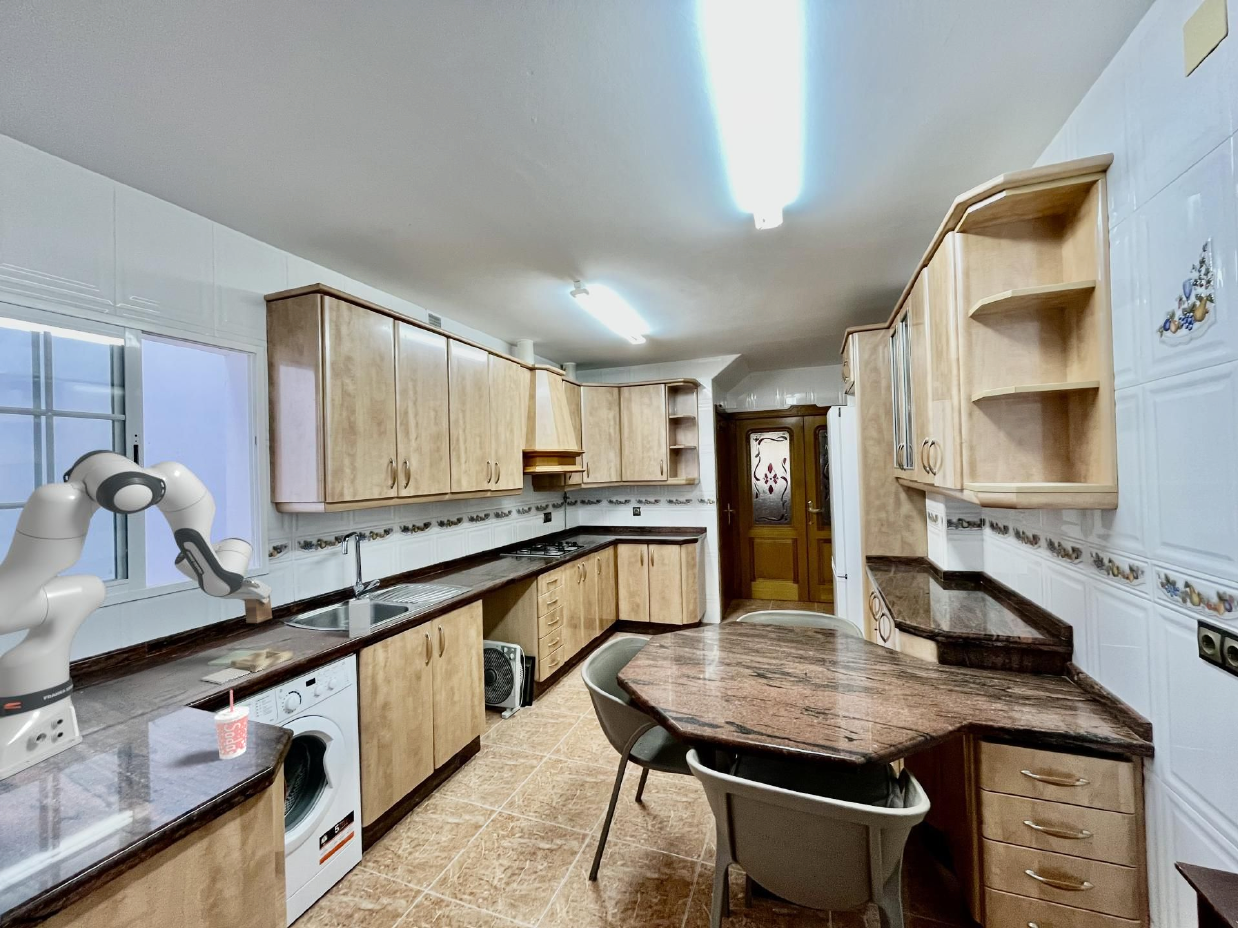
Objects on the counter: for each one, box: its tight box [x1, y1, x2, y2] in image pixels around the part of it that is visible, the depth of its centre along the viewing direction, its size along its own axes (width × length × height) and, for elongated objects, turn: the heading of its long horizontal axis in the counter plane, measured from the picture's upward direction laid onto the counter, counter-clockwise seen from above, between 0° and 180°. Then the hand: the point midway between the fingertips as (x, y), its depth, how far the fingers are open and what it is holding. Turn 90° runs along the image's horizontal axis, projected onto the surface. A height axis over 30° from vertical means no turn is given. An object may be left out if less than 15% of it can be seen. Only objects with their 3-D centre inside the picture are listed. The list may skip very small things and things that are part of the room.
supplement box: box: [348, 598, 371, 639], centre depth 189 cm, size 7×7×13 cm
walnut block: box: [243, 594, 273, 624], centre depth 164 cm, size 5×5×11 cm
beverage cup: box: [213, 689, 250, 760], centre depth 108 cm, size 6×6×14 cm
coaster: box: [207, 650, 260, 666], centre depth 167 cm, size 11×11×1 cm
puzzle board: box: [200, 647, 294, 683], centre depth 157 cm, size 21×12×2 cm, turn 159°
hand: (259, 601), depth 165 cm, fingers closed on walnut block, 5 cm apart
